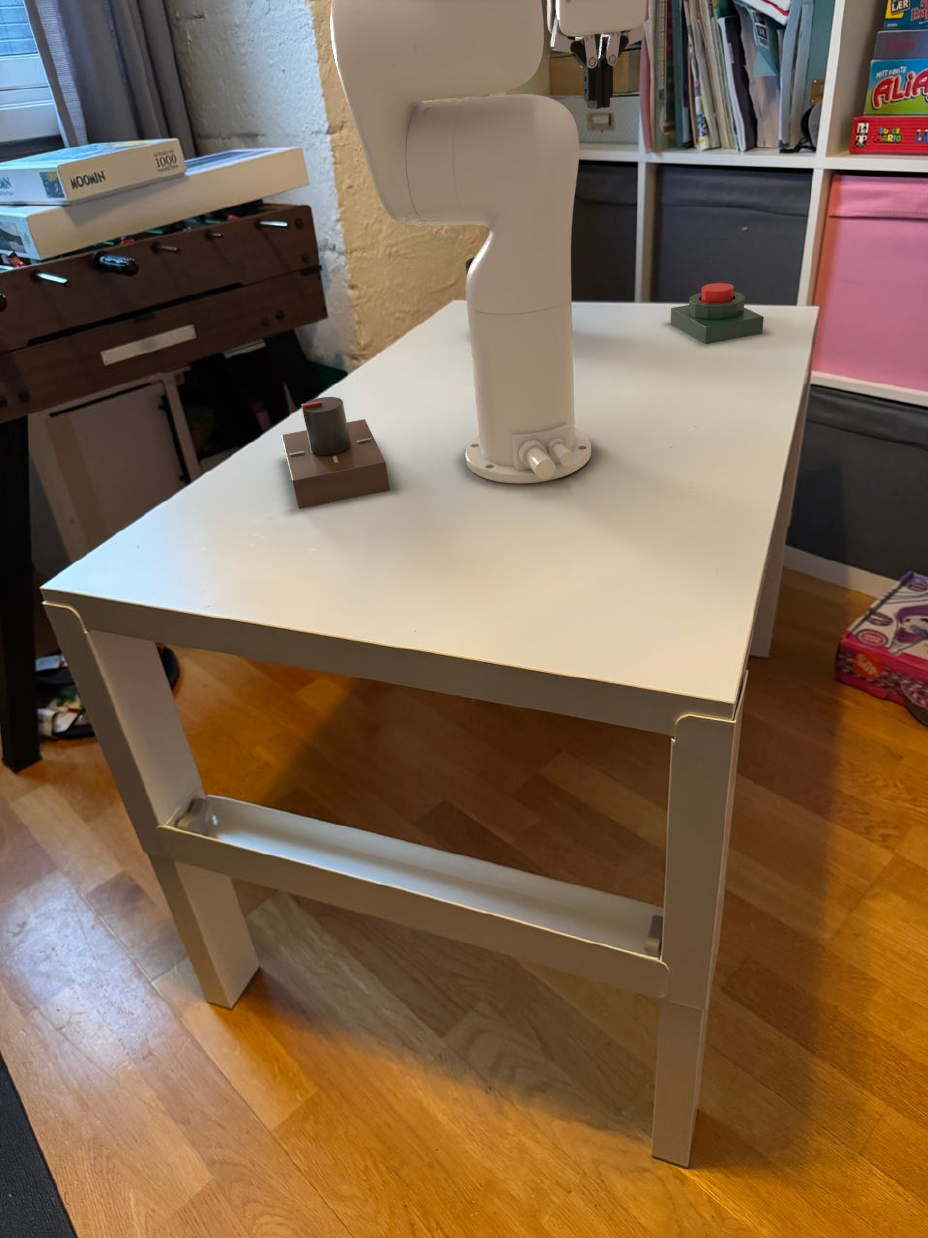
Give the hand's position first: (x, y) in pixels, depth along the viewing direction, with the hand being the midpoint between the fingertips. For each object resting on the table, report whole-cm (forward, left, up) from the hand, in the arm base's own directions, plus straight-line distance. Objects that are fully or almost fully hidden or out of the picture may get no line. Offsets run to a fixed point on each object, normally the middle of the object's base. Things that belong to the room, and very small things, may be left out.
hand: (598, 106), depth 101 cm
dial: (-25, +39, -24) cm, 52 cm away
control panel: (-25, +39, -27) cm, 54 cm away
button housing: (-3, -15, -27) cm, 31 cm away
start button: (-3, -15, -23) cm, 28 cm away
